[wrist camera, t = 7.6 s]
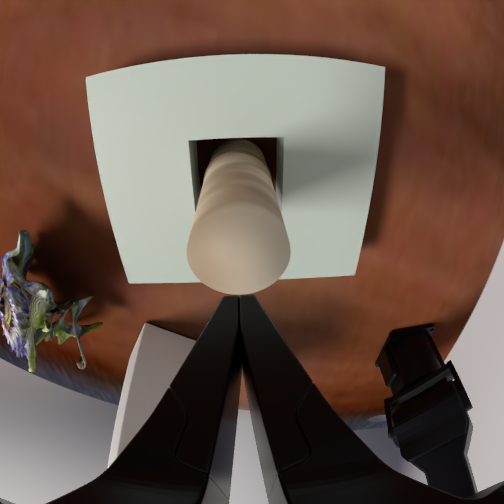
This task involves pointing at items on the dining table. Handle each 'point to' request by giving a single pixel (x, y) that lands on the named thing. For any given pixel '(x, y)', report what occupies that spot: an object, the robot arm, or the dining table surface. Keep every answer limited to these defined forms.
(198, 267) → the peg
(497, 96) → the dining table surface
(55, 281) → the dining table surface
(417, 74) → the dining table surface
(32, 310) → the passion flower
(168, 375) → the milk carton
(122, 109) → the board
